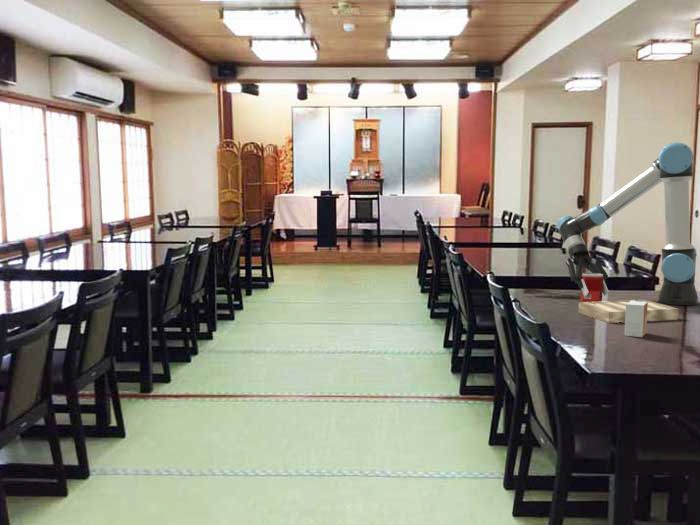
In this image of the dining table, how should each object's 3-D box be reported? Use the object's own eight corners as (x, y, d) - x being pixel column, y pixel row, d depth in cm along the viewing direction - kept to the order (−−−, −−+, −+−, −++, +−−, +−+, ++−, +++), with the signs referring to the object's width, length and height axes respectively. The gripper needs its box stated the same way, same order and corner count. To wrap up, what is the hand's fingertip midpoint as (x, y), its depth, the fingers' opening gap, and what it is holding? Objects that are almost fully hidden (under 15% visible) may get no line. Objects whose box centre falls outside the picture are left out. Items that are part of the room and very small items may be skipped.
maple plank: (643, 309, 265) (643, 299, 265) (678, 319, 246) (678, 308, 246) (578, 312, 260) (578, 302, 259) (608, 323, 240) (609, 311, 240)
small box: (642, 337, 217) (644, 305, 216) (624, 335, 220) (625, 303, 219) (646, 333, 224) (648, 301, 223) (628, 331, 227) (630, 300, 226)
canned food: (604, 303, 266) (606, 275, 265) (584, 303, 266) (585, 275, 265) (598, 299, 274) (599, 272, 272) (578, 299, 274) (579, 272, 273)
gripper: (595, 253, 285) (616, 298, 271) (550, 254, 281) (568, 300, 267) (603, 242, 279) (624, 287, 266) (557, 243, 275) (576, 289, 261)
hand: (596, 293), depth 266 cm, fingers closed on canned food, 8 cm apart
